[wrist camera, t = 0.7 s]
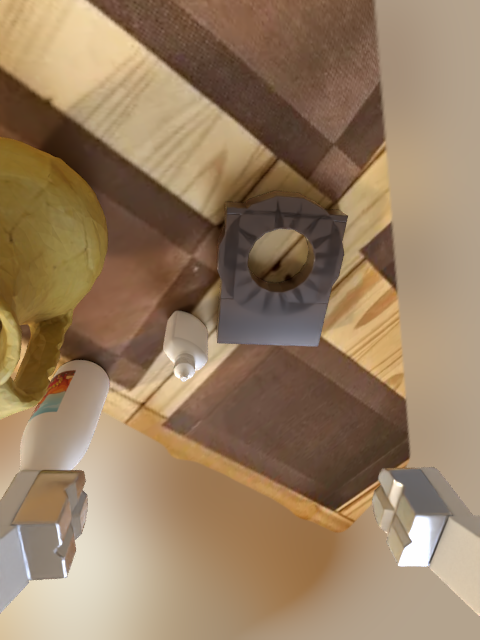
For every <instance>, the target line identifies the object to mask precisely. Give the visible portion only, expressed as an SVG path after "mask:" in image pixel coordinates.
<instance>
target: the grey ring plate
mask: <svg viewBox="0 0 480 640" xmlns="http://www.w3.org/2000/svg"><path fill="white" fill-rule="evenodd" d="M225 207H226V208H225V219H224V228H223V230H222V232H221V234H220V236H219V238H218V251H217V269H218V273H219V275H220V291H219V305H218V319H217V343H228V344H259V345H290V346H318V344H319V340H320V336H321V331H322V327H323V323H324V318H325V314H326V310H327V305H328V301H329V297H330V292H331V288H332V286H333V284H334V283H335V281H336V280H337V278H338V276H339V273H340V269H341V265H342V261H343V256H344V249H343V244H342V240H343V236H344V232H345V227H346V223H347V218H348V216H347V215H346V214H344V213H343V212H342V211H340V210H333V209H324V208H323V207H322V206H320V205H319V204H318V203H316V202H314V201H312V200H310V199H309V198H307V197H305V196H303V195H301V194H300V193H294V192H282V191H271V192H268V193H266V194H263V195H260V196H257V197H254V198H251V199H249V200H247V201H246V202H245V203H241V202H228V201H226V205H225ZM279 228H280V229H293V230H295V231H297V232H299V233H301V234H303V235H304V236H305V237H306V240H307V244H308V249H309V251H308V256H307V261H306V263H305V265H304V266H303V268H302V269H301V271H300V272H299V273H298V274H296V275H295V276H294V277H292V278H291V279H289V280H286V281H283V282H280V283H272V282H266V281H264V280H261V279H259V278H257V277H256V276H255V275H254V274H253V273H252V272H251V271H250V269H249V267H248V258H249V252H250V251H251V249H252V247H253V245H254V243H255V241H257V240H258V239H259V238H260V237H262V236H263V235H264V234H265V233H267V232H270V231H273V230H276V229H279Z"/></svg>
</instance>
